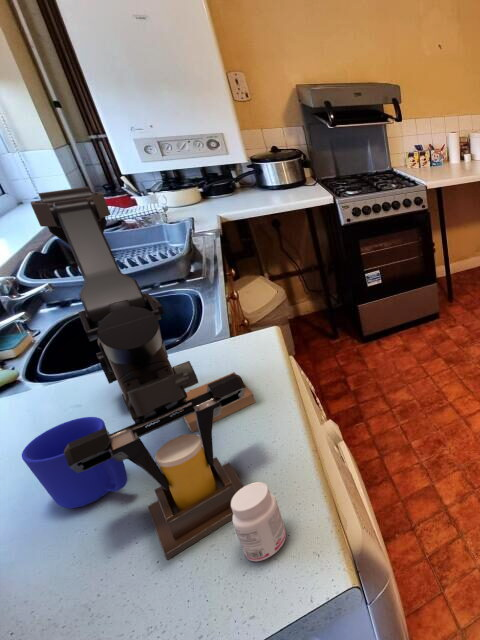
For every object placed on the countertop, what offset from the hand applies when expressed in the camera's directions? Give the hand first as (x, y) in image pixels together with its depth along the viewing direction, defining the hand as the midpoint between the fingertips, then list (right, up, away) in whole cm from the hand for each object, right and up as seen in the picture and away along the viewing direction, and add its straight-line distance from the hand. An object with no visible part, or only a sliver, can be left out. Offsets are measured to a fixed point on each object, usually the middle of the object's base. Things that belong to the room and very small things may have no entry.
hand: (190, 477), depth 57 cm
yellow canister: (-1, -4, +3) cm, 5 cm away
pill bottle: (+11, -8, -1) cm, 13 cm away
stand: (-1, -6, +3) cm, 7 cm away
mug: (-17, -6, +6) cm, 19 cm away
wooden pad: (-12, +2, +23) cm, 27 cm away
